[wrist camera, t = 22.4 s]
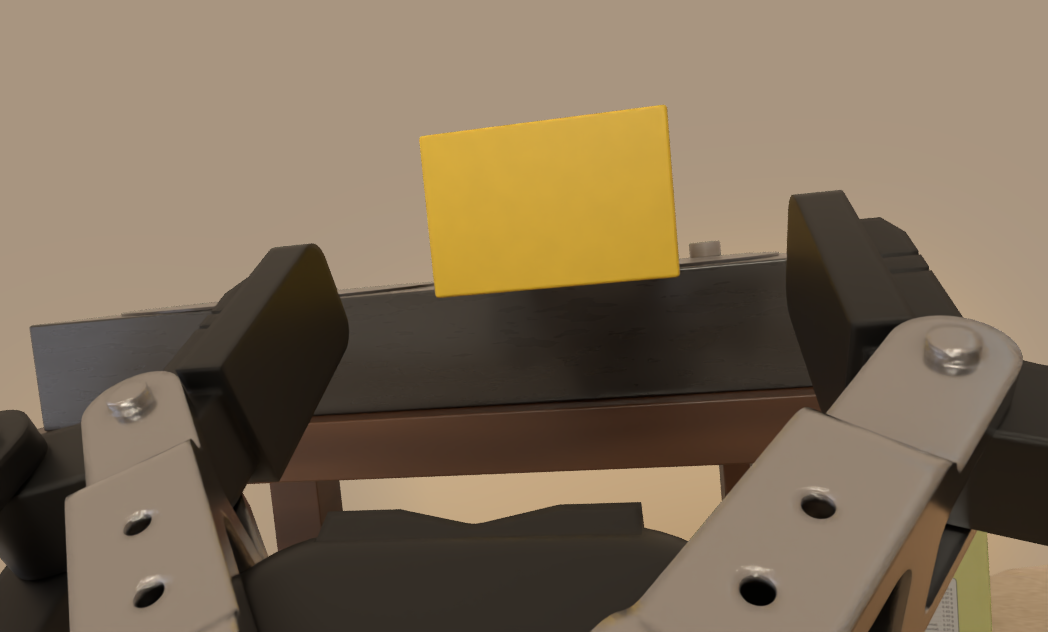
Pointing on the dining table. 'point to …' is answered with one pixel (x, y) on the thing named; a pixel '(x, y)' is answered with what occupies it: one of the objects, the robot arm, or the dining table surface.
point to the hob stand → (502, 379)
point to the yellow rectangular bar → (551, 203)
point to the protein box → (967, 594)
